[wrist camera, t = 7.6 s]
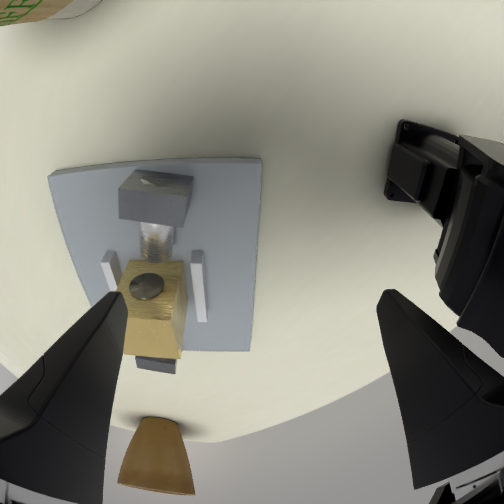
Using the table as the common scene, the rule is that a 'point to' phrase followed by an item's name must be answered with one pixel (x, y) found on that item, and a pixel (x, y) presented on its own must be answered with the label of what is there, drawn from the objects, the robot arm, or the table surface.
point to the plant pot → (157, 459)
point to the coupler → (154, 308)
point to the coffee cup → (42, 10)
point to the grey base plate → (184, 242)
